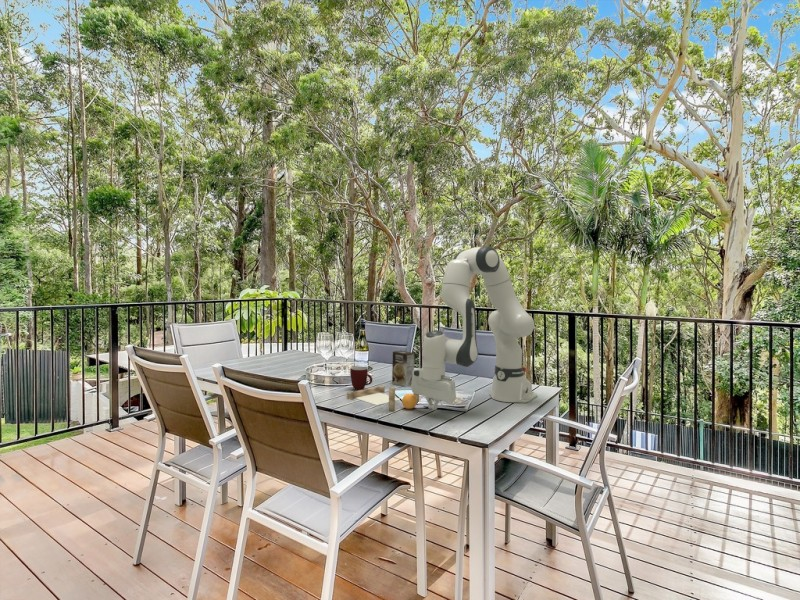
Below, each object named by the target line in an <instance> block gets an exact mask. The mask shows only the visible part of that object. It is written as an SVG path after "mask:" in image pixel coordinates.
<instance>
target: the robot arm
mask: <svg viewBox="0 0 800 600" xmlns="http://www.w3.org/2000/svg"><path fill="white" fill-rule="evenodd" d="M479 274H480V275H481V277H482V278H483V283H484V287H485V290H486V293H487V295H488V299H489V302H490V304H491V305H493V306H494V308H495V309H496V310H494V311H492V312H491V313H489V316H488V319H487V322H488V323H487V324H488V326H489V328H490V329H491V332H492V334H493V335H492V336H493V338H494V342H495V351H496V352H495V353H496V355H495V356H496V357H495V366H494V374H495V375H494V376H493V377H492V383H491V391H489V395H490V397H491V398H492V399H493V400H496V401H499V402H503V403H521V404H522V403H523V404H525V403H527V404H528V403H529V402H530V401H532V400H534V399H535V398H537V397H538V394H537V393H536V392H534V391H533V385H532V382H531V381H530V380H529V379H527V377H526V376H525V372H527V370H528V368H527V367H526V366H522V365H523V349H522V347H521V345H520V344H519V341H518V338H525V337H529V336H530V335H531V334H532V333H533V331H534V328H535V321H534V319H533V317H532V316H531V315H530V314H528V312H527V311H526V310H525V308H524V307H523V305H522V304H521V302H520V301H519V299H518V297H517V294H516V293H515V289H514V286H513V283H512V280H511V276H510V273H509V271H508V269H507V266H506V264H505V262H504V261H503V259H502V258H501V257H500V255H499V253H498V252H497V250H496V249H495V248H494V247H493V246H489V245H488V246H487V245H484V246H477V247H476V246H475V247H471V248H468V249H463V250H461V251H459V252H457V253H456V254H455V255H454V257H453V258H452V259H451V260H450V261H449V262H448V263H447V265H446V268H445V271H444V275H443V279H442V285H441V292H440V295H441V300H442V301H443V303H444V304H445V305H446V306H447V307H448V308H451V309H452V310H454V311H456V312H458V314H459V315H461V318H462V339H456V338H455V339H454V338H451V337H450V338H449V337H448V336H446V335H445V332H443V331H442V330H431V331H428V332H426V333H425V334H424V337H423V343H422V358H423V359H422V360H423V361H422V365H421V367H420V368H416V369H414V370H413V371H412V375H413V377H412V384H411V386H410V388H411V392H412V394H413V393H415V394H419V396H423V397H426V399H425V400H426V402H427V404H428V406H427V407H428V409H429V410H431V411H432V410H433V411H436V410H437V409H438V404H439V403H440V402H444V403H448V404H450V403H453V402H456V399H457V394H456V381H455V380H454V379H453V378H452V377H451V376H446V363H447V364H451V365H452V364H453V365H457V366H458V365H459V366H461V367H465V368H469V367H470V366H472V365H473V364H474V363H475V362H476V361H477V359H478V357H479V349H478V344H477V318H476V317H477V315H476V305H475V302H474V301H473V300H472V299H471V296H470V286H471V278H472V276H473V275H475V276H476V275H479ZM432 399H433V400H432Z"/></svg>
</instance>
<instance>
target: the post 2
mask: <svg viewBox="0 0 800 600" xmlns="http://www.w3.org/2000/svg"><path fill="white" fill-rule="evenodd" d="M412 394H413V395H414V396H415V397H416V399H417V403H418V402H419V403H420V395H419V394H415V393H413V392H412Z"/></svg>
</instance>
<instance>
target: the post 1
mask: <svg viewBox="0 0 800 600" xmlns="http://www.w3.org/2000/svg"><path fill="white" fill-rule="evenodd" d="M388 395H389V403H388V411H389V412H395V411H396V401H395V397H396V387H393V386H391V387H389V388H388Z"/></svg>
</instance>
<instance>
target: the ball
mask: <svg viewBox="0 0 800 600" xmlns="http://www.w3.org/2000/svg"><path fill="white" fill-rule="evenodd" d="M401 404H402V406H403V407H404V408H405V409H407V410H410V409H414V407H416V406H417V405H416V404H417V399H416V397H415V396H414V395H413V393H406V394H404V395H403V396H402V398H401Z"/></svg>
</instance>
